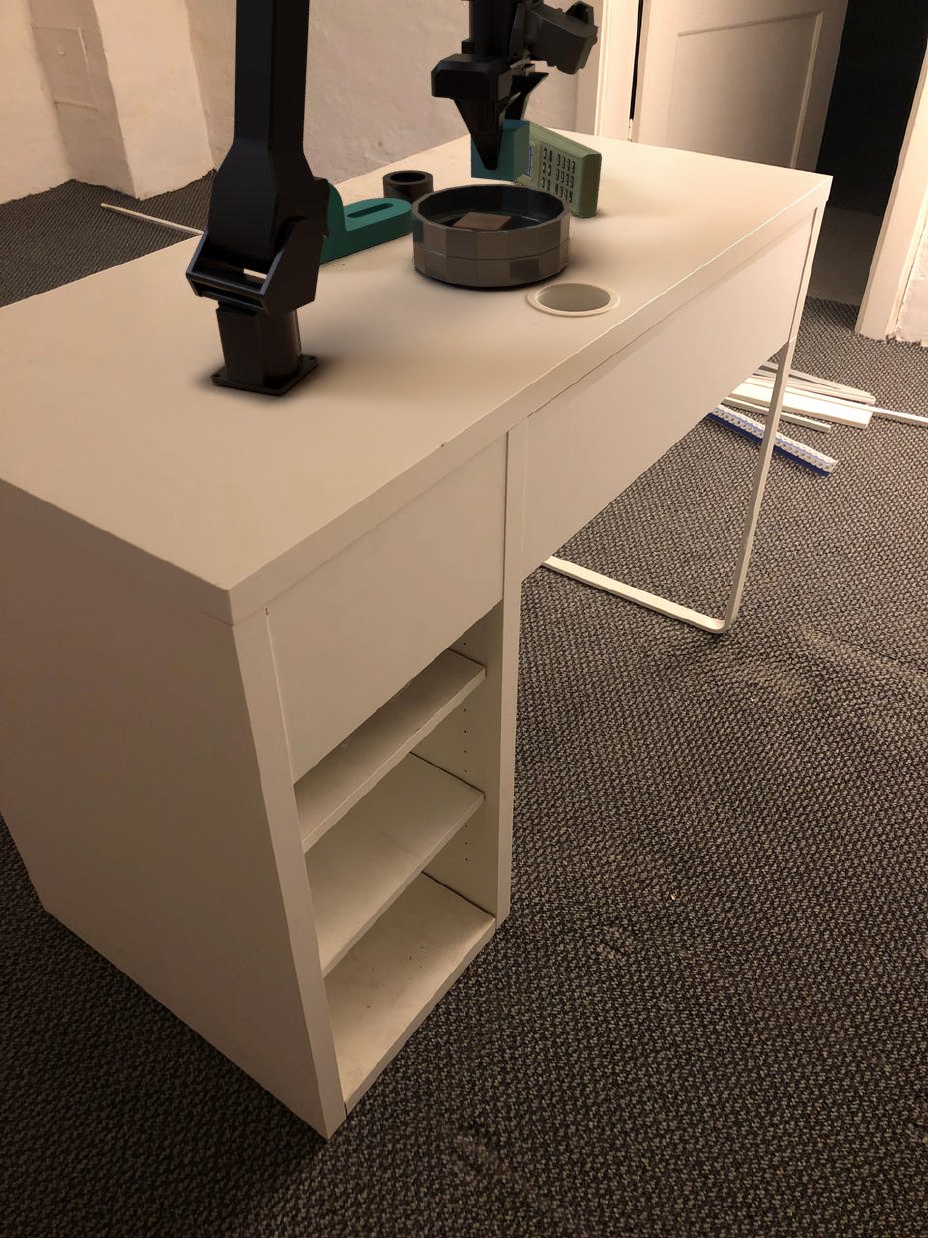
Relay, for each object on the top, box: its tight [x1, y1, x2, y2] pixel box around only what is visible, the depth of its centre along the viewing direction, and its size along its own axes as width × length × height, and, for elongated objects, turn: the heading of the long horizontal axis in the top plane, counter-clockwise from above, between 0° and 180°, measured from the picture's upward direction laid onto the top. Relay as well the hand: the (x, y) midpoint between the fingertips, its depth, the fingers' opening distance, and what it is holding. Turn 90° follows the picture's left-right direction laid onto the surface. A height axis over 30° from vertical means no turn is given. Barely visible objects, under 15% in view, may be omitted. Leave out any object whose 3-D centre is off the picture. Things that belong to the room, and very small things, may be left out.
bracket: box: [320, 182, 413, 265], centre depth 103 cm, size 18×7×8 cm, turn 136°
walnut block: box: [453, 212, 512, 230], centre depth 96 cm, size 4×4×4 cm
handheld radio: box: [514, 117, 603, 219], centre depth 117 cm, size 7×3×25 cm
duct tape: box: [381, 169, 435, 205], centre depth 114 cm, size 8×10×3 cm
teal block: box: [469, 119, 531, 183], centre depth 95 cm, size 4×4×4 cm
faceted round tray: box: [411, 183, 572, 288], centre depth 98 cm, size 15×15×6 cm
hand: (499, 162), depth 96 cm, fingers closed on teal block, 4 cm apart
